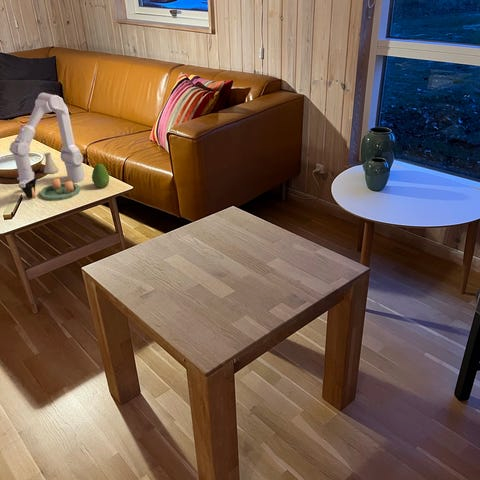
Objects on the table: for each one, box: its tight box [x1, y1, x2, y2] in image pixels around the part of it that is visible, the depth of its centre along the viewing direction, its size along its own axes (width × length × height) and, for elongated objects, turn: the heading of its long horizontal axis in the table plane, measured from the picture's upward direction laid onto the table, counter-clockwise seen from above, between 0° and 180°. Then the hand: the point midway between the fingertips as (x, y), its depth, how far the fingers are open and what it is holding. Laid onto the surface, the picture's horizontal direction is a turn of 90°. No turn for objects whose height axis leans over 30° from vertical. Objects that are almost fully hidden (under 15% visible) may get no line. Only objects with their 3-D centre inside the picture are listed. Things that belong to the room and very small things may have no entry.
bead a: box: [63, 180, 74, 194], centre depth 216 cm, size 4×4×5 cm
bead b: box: [51, 177, 62, 191], centre depth 219 cm, size 4×4×5 cm
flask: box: [43, 152, 59, 175], centre depth 240 cm, size 7×7×10 cm
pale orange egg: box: [27, 187, 37, 200], centre depth 212 cm, size 4×4×5 cm
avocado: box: [91, 163, 110, 189], centre depth 221 cm, size 8×8×12 cm
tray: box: [39, 182, 81, 201], centre depth 217 cm, size 17×17×2 cm
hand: (31, 196), depth 212 cm, fingers closed on pale orange egg, 4 cm apart
